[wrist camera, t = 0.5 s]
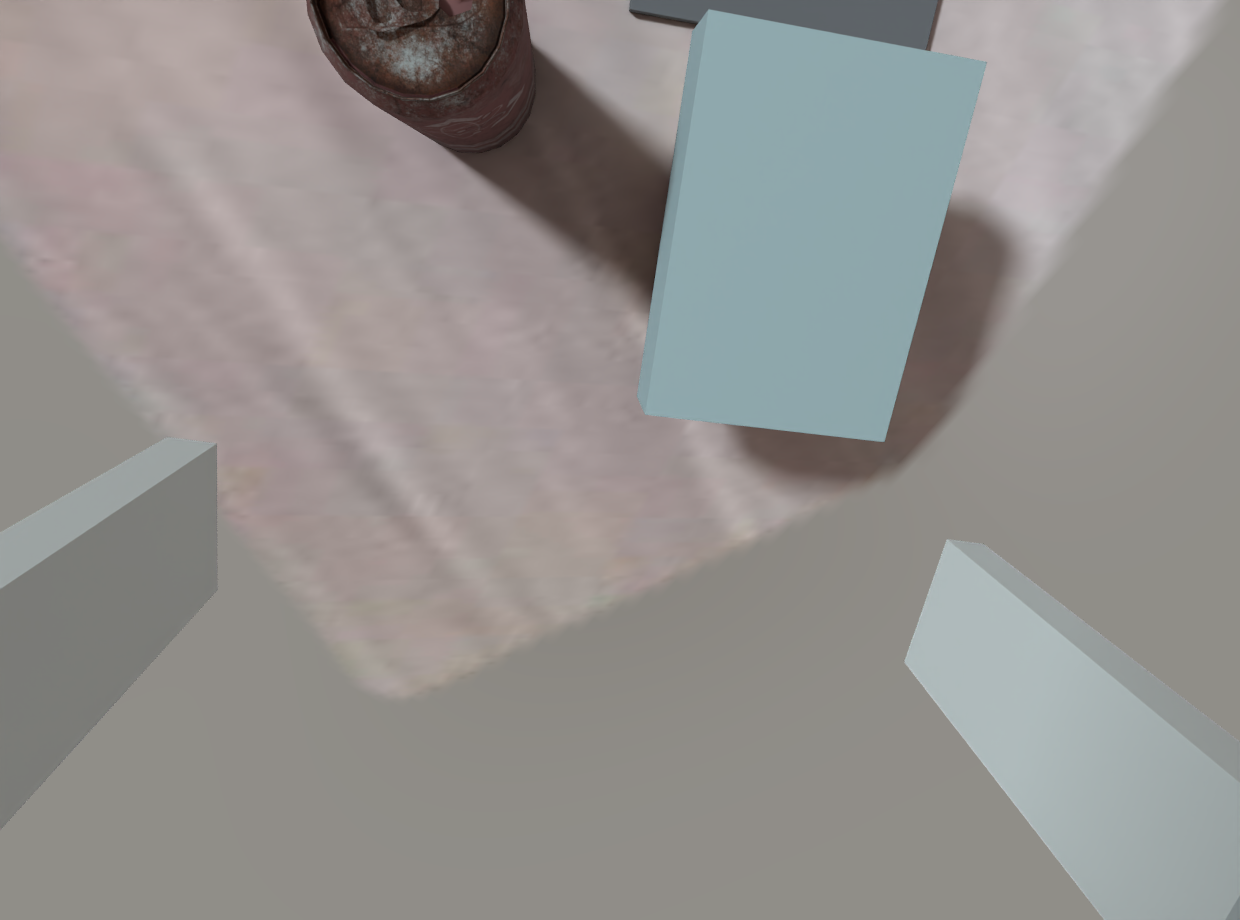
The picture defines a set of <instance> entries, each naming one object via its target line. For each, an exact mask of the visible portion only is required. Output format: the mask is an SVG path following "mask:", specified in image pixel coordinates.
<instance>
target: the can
mask: <svg viewBox="0 0 1240 920" xmlns="http://www.w3.org/2000/svg"><path fill="white" fill-rule="evenodd" d="M306 1H307V11H308V16H309V19H310V21H311V24H312V26H313V29H314V31H315V34H316V37H317V39H318V42H319V44H320V47H321V50H322V52H323V53H324V54H325V56H326V57H327V58H328V60H329V61H330V63H331V64H332V65H333V67H334V68H335V69H336V71H337V72H338V73H339V75H340V76H341V78H342V79H343V80H344V82H345V83H347V84H348V85H349V86H351V87H352V88H353V89H354V90H356V91H357V92H358V93H359V94H361V95H362V96H363V97H365V98H366V99H367V100H368V101H370V102H371V103H372V104H374V105H375V106H377V107H379V108H380V109H382V110H383V111H385V112H387V113H388V114H390V115H392V116H393V117H395V118H397V119H398V120H400V121H402V122H403V123H405V124H407V125H408V126H410V127H412V128H413V129H415V130H417V131H418V132H420V133H422V134H423V135H425V136H426V137H428V138H430V139H431V140H433V141H435V142H436V143H438V144H440V145H443V146H445V147H448V148H450V149H453V150H456V151H458V152H472V153H482V152H485V151H488V150H491V149H495V148H498V147H501V146H502V145H503V144H505V143H506V142H507V141H509V140H510V139H511V138H513V137H514V136H515V135H516V134H517V133H518V132H519V130H520V129H521V127H522V126H523V124H524V123H525V122H526V120H527V119H528V117H529V115H530V111H531V108H532V105H533V101H534V98H535V66H534V59H533V52H532V46H531V39H530V32H529V26H528V19H527V12H526V6H525V0H306Z"/></svg>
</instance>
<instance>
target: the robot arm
mask: <svg viewBox="0 0 1240 920" xmlns="http://www.w3.org/2000/svg"><path fill="white" fill-rule="evenodd" d="M217 585H218V584H217V443H210V442H202V441H194V440H187V439H179V438H171V437H167V438H165V439H163V440H161V441H160V442H158V443H156V444H154V445H153V446H151V447H149V448H147V449H145V450H144V451H142V452H140V453H138V454H137V455H135V456H133V457H131V458H130V459H128V460H126V461H124V462H123V463H121V464H119V465H117V466H116V467H114V468H112V469H111V470H109V471H107V472H105V473H103V474H102V475H100V476H98V477H96V478H95V479H93V480H91V481H89V482H88V483H86V484H84V485H82V486H81V487H79V488H77V489H75V490H74V491H72V492H70V493H69V494H67V495H65V496H63V497H62V498H60V499H58V500H56V501H54V502H53V503H51V504H49V505H47V506H46V507H44V508H42V509H40V510H39V511H37V512H35V513H33V514H32V515H30V516H28V517H26V518H25V519H23V520H21V521H19V522H17V523H16V524H14V525H12V526H10V527H9V528H7V529H5V530H3V531H2V532H0V830H1V829H2V828H3V826H4V825H5V824H6V823H7V822H8V821H9V820H10V819H11V818H12V817H13V816H14V814H15V813H16V812H17V811H18V810H19V809H20V808H21V807H22V805H23V804H24V803H25V802H26V801H27V800H28V799H29V798H30V797H31V796H32V795H33V793H34V792H35V791H36V790H37V789H38V788H39V787H40V786H41V785H42V783H43V782H44V781H45V780H46V779H47V778H48V777H49V776H50V775H51V773H52V772H53V771H54V770H55V769H56V768H57V767H58V766H59V765H60V763H61V762H62V761H63V760H64V759H65V758H66V757H67V756H68V755H69V754H70V753H71V751H72V750H73V749H74V748H75V747H76V746H77V745H78V744H79V743H80V741H81V740H82V739H83V738H84V737H85V736H86V735H87V734H88V732H89V731H90V730H91V729H92V728H93V727H94V726H95V725H96V724H97V723H98V721H99V720H100V719H101V718H102V717H103V716H104V715H105V714H106V713H107V712H108V711H109V709H110V708H111V707H112V706H113V705H114V704H115V703H116V702H117V701H118V699H119V698H120V697H121V696H122V695H123V694H124V693H125V692H126V691H127V689H128V688H129V687H130V686H131V685H132V684H133V683H134V682H135V681H136V680H137V678H138V677H139V676H140V675H141V674H142V673H143V672H144V671H145V669H146V668H147V667H148V666H149V665H150V664H151V663H152V662H153V661H154V660H155V659H156V657H157V656H158V655H159V654H160V653H161V652H162V651H163V649H165V647H166V646H167V645H168V644H169V643H170V642H171V641H172V640H173V639H174V637H175V636H176V635H177V634H178V633H179V632H180V631H181V630H182V629H183V628H184V627H185V625H186V624H187V623H188V622H189V621H190V620H191V619H192V618H193V617H194V615H195V614H196V613H197V612H198V611H199V610H200V609H201V608H202V607H203V606H204V604H205V603H206V602H207V601H208V600H209V599H210V598H211V597H212V596H213V594H214V593H215V592H216V591H217V589H218V587H217ZM904 662H905V664H906V665H907V666H908V668H909V669H910V670H911V671H912V673H913V674H914V675H915V676H916V678H917V679H918V680H919V682H920V683H921V684H922V685H923V687H924V688H925V689H926V691H927V692H928V693H929V695H930V696H931V697H932V699H933V700H934V701H935V702H936V704H937V705H938V706H939V708H940V709H941V710H942V711H943V713H944V714H945V715H946V717H947V718H948V719H949V720H950V722H951V723H952V724H953V725H954V727H955V728H956V729H957V731H958V732H959V733H960V735H961V736H962V737H963V738H964V740H965V741H966V742H967V744H968V745H969V746H970V747H971V749H972V750H973V751H974V753H975V754H976V755H977V756H978V758H979V759H980V760H981V762H982V763H983V764H984V766H985V767H986V768H987V769H988V771H989V772H990V773H991V775H992V776H993V777H994V778H995V780H996V781H997V782H998V783H999V785H1000V786H1001V787H1002V789H1003V790H1004V791H1005V793H1006V794H1007V795H1008V796H1009V798H1010V799H1011V800H1012V802H1013V803H1014V804H1015V806H1016V807H1017V808H1018V809H1019V811H1020V812H1021V813H1022V814H1023V816H1024V817H1025V818H1026V820H1027V821H1028V822H1029V823H1030V825H1031V826H1032V827H1033V829H1034V830H1035V831H1036V833H1037V834H1038V835H1039V836H1040V838H1041V839H1042V840H1043V841H1044V843H1045V844H1046V845H1047V847H1048V848H1049V849H1050V851H1051V852H1052V853H1053V855H1054V856H1055V857H1056V858H1057V860H1058V861H1059V862H1060V864H1061V865H1062V866H1063V867H1064V869H1065V870H1066V871H1067V872H1068V874H1069V875H1070V876H1071V878H1072V879H1073V880H1074V882H1075V883H1076V884H1077V885H1078V887H1079V888H1080V889H1081V891H1082V892H1083V893H1084V894H1085V896H1086V897H1087V898H1088V899H1089V901H1090V902H1091V903H1092V905H1093V906H1094V907H1095V908H1096V910H1097V911H1098V912H1099V914H1100V915H1101V916H1102V918H1103V919H1104V920H1240V741H1238V740H1237V739H1235V738H1234V737H1233V736H1232V735H1231V734H1229V733H1228V732H1227V731H1225V730H1224V729H1223V728H1221V727H1220V726H1219V725H1218V724H1216V723H1215V722H1214V721H1212V720H1211V719H1210V718H1209V717H1207V716H1206V715H1205V714H1203V713H1202V712H1201V711H1199V710H1198V709H1196V707H1194V706H1193V705H1192V704H1190V703H1189V702H1188V701H1186V700H1185V699H1184V698H1183V697H1181V696H1180V695H1178V694H1177V693H1176V692H1175V691H1173V690H1172V689H1171V688H1170V687H1168V686H1167V685H1166V684H1164V683H1163V682H1162V681H1161V680H1159V679H1158V678H1157V677H1155V676H1154V675H1153V674H1152V673H1150V672H1149V671H1148V670H1146V669H1145V668H1144V667H1142V666H1141V665H1140V664H1139V663H1137V662H1136V661H1135V660H1133V659H1132V658H1131V657H1129V656H1128V655H1127V654H1125V653H1124V652H1123V651H1122V650H1120V649H1119V648H1118V647H1117V646H1115V645H1114V644H1113V643H1111V642H1110V641H1109V640H1107V639H1106V638H1105V637H1104V636H1102V635H1101V634H1099V633H1098V632H1097V631H1096V630H1095V629H1093V628H1092V627H1091V626H1089V625H1088V624H1087V623H1085V622H1084V621H1083V620H1081V619H1080V618H1079V617H1078V616H1076V615H1075V614H1074V613H1072V612H1071V611H1070V610H1069V609H1067V608H1066V607H1064V606H1063V605H1062V604H1061V603H1060V602H1058V601H1057V600H1056V599H1054V598H1053V597H1052V596H1050V595H1049V594H1048V593H1047V592H1045V591H1044V590H1042V589H1041V588H1040V587H1039V586H1037V585H1036V584H1035V583H1034V582H1032V581H1031V580H1030V579H1028V578H1027V577H1026V576H1025V575H1023V574H1022V573H1021V572H1019V571H1018V570H1017V569H1016V568H1014V567H1013V566H1011V565H1010V564H1009V563H1008V562H1006V561H1005V560H1004V559H1003V558H1001V557H1000V556H999V555H997V554H996V553H995V552H993V551H992V550H991V549H989V548H988V547H987V546H986V545H984V544H980V543H972V542H964V541H957V540H949V539H947V541H946V544H945V547H944V549H943V552H942V555H941V558H940V561H939V564H938V567H937V570H936V573H935V575H934V578H933V581H932V584H931V587H930V590H929V592H928V596H927V598H926V601H925V604H924V607H923V610H922V613H921V615H920V618H919V621H918V624H917V627H916V630H915V633H914V636H913V638H912V641H911V644H910V647H909V650H908V653H907V656H906V659H905V661H904Z"/></svg>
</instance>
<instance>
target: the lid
mask: <svg viewBox="0 0 1240 920" xmlns="http://www.w3.org/2000/svg"><path fill="white" fill-rule="evenodd" d="M986 64H987V62H984V61H979V60H974V59H968V58H963V57H958V56H953V55H947V54H942V53H937V52H931V51H926V50H921V49H916V48H910V47H905V46H900V45H895V44H889V43H884V42H879V41H873V40H868V39H863V38H858V37H852V36H847V35H842V34H836V33H831V32H826V31H821V30H815V29H810V28H805V27H799V26H794V25H789V24H784V23H778V22H773V21H768V20H763V19H757V18H752V17H747V16H741V15H736V14H731V13H726V12H720V11H715V10H710V9H708V11H707V12H706V14H705V15H704V16H703V18H702V19H701V20H700V22H699V23H698V24H697V26H696V27H695V29H694V30H693V31H692V37H691V44H690V50H689V57H688V63H687V70H686V77H685V83H684V90H683V96H682V103H681V110H680V116H679V123H678V129H677V136H676V143H675V149H674V156H673V162H672V169H671V176H670V182H669V189H668V195H667V202H666V208H665V215H664V222H663V228H662V235H661V241H660V248H659V255H658V261H657V268H656V274H655V281H654V288H653V294H652V301H651V307H650V314H649V321H648V327H647V334H646V340H645V347H644V353H643V360H642V367H641V373H640V380H639V386H638V393H637V397H638V400H639V402H640V404H641V406H642V409H643V411H644V413H645V415H653V416H661V417H670V418H679V419H687V420H696V421H705V422H713V423H722V424H731V425H740V426H748V427H757V428H766V429H774V430H783V431H792V432H800V433H809V434H818V435H826V436H835V437H844V438H852V439H861V440H870V441H878V442H885V438H886V434H887V430H888V427H889V423H890V419H891V416H892V412H893V408H894V404H895V401H896V397H897V393H898V390H899V386H900V382H901V379H902V375H903V371H904V367H905V364H906V360H907V356H908V353H909V349H910V345H911V341H912V338H913V334H914V330H915V327H916V323H917V319H918V316H919V312H920V308H921V304H922V301H923V297H924V293H925V290H926V286H927V282H928V279H929V275H930V271H931V267H932V264H933V260H934V256H935V253H936V249H937V245H938V241H939V238H940V234H941V230H942V227H943V223H944V219H945V216H946V212H947V208H948V204H949V201H950V197H951V193H952V190H953V186H954V182H955V179H956V175H957V171H958V167H959V164H960V160H961V156H962V153H963V149H964V145H965V141H966V138H967V134H968V130H969V127H970V123H971V119H972V116H973V112H974V108H975V104H976V101H977V97H978V93H979V90H980V86H981V82H982V78H983V75H984V71H985V67H986Z"/></svg>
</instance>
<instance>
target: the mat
mask: <svg viewBox="0 0 1240 920" xmlns="http://www.w3.org/2000/svg"><path fill="white" fill-rule="evenodd" d="M937 2H938V0H630V8H629V11H630V12H635V13H641V14H646V15H651V16H657V17H662V18H667V19H673V20H678V21H683V22H689V23H694V24H698V23H699V22H700V20H701V19H702V18H703V16H704V15H705V14H706V12H707V11H708V9H710V10H715V11H720V12H726V13H731V14H736V15H741V16H747V17H752V18H757V19H763V20H768V21H773V22H778V23H784V24H789V25H794V26H799V27H805V28H810V29H815V30H821V31H826V32H831V33H836V34H842V35H847V36H852V37H858V38H863V39H868V40H873V41H879V42H884V43H889V44H895V45H900V46H905V47H910V48H916V49H921V50H926V47H927V43H928V39H929V35H930V31H931V27H932V23H933V19H934V15H935V11H936V6H937Z"/></svg>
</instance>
